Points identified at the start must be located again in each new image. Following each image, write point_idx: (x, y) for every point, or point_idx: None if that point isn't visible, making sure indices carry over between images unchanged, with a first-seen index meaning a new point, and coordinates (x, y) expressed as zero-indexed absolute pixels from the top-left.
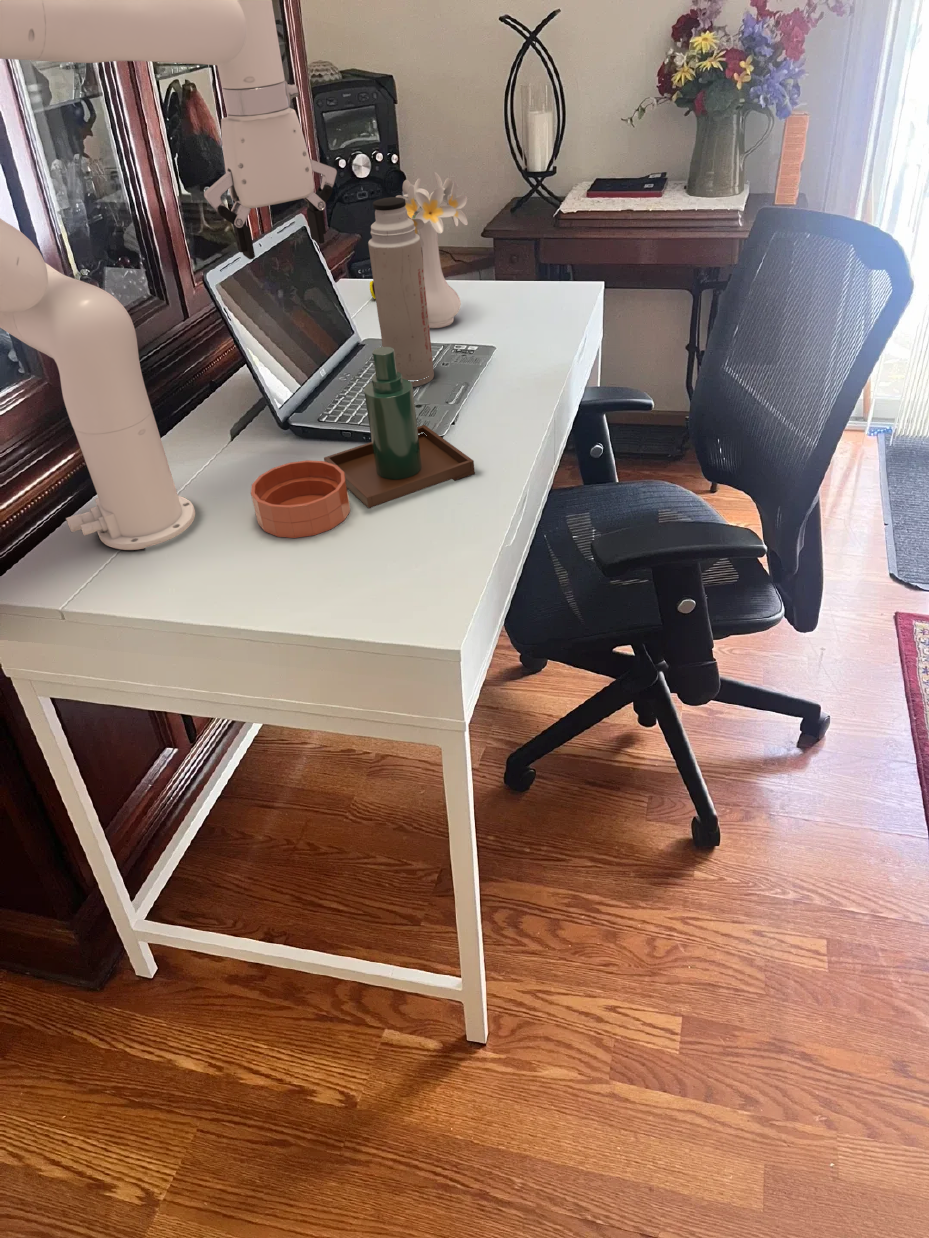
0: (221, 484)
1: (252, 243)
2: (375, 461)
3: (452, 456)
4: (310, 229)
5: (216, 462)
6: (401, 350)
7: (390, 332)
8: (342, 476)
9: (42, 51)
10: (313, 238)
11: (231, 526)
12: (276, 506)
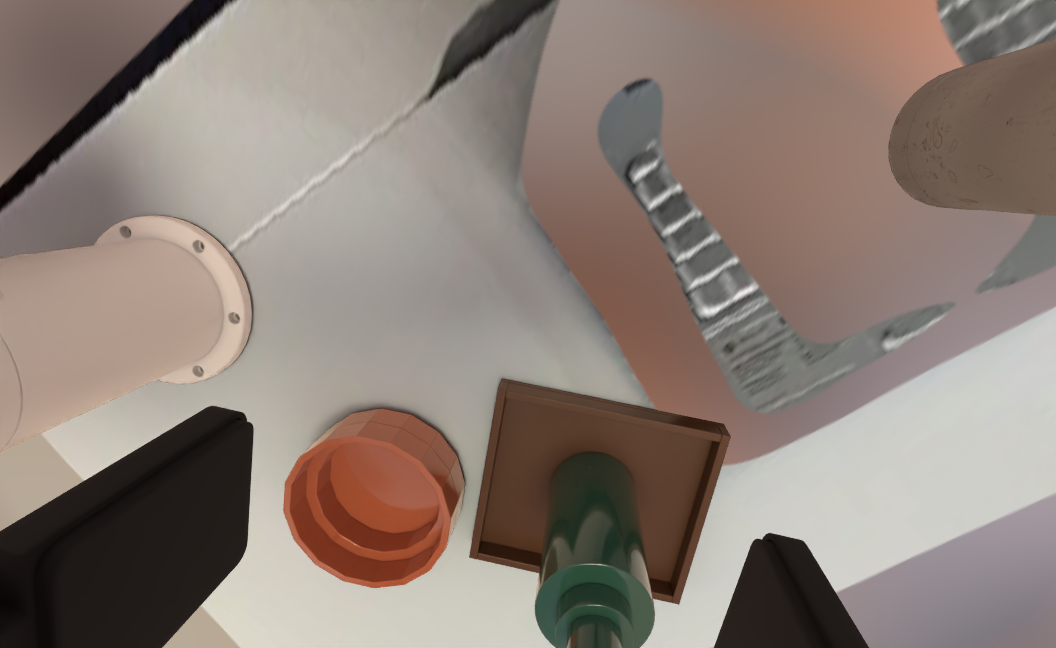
0: (329, 267)
1: (180, 626)
2: (550, 490)
3: (685, 536)
4: (777, 601)
5: (358, 171)
6: (969, 186)
7: (1001, 155)
8: (435, 556)
9: None
10: (745, 583)
11: (285, 411)
12: (301, 547)
